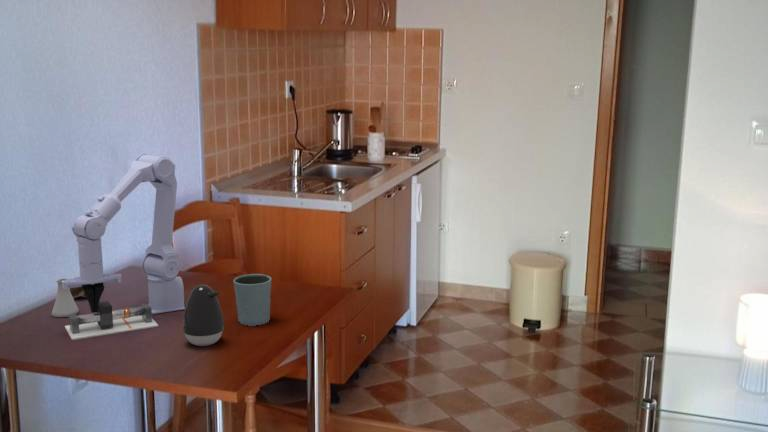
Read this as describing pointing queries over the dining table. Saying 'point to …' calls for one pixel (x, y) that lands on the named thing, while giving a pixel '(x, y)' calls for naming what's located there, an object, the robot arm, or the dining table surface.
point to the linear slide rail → (117, 314)
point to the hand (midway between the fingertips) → (94, 311)
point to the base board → (118, 327)
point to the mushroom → (77, 292)
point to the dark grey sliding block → (105, 314)
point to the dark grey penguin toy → (203, 317)
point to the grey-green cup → (253, 298)
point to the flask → (64, 302)
